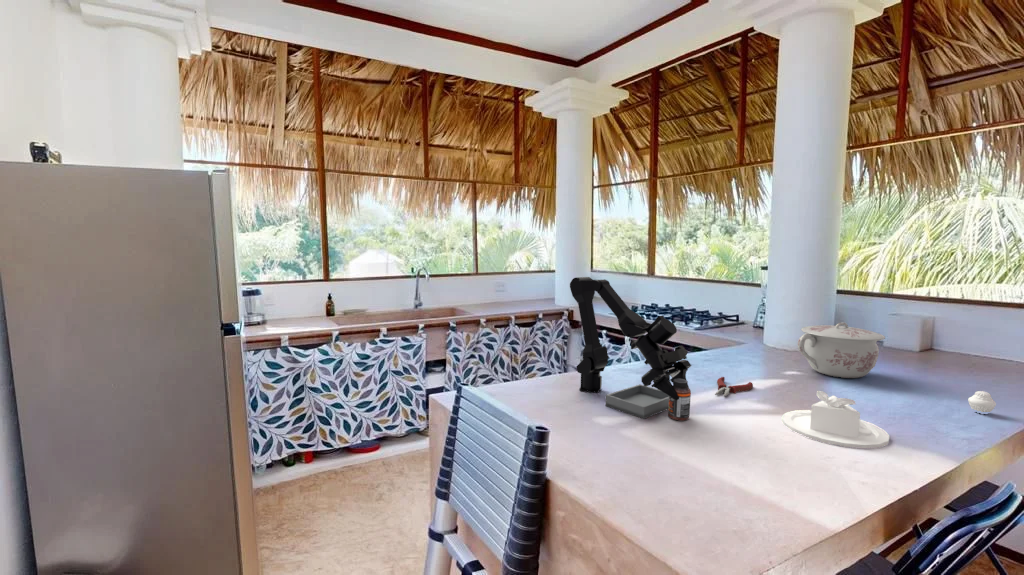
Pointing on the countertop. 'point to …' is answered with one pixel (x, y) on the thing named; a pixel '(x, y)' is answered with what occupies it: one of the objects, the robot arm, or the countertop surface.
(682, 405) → the supplement bottle
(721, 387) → the pliers
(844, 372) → the chamber pot
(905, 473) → the countertop surface
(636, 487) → the countertop surface
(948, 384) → the countertop surface
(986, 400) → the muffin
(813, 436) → the dish
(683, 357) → the robot arm
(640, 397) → the tray
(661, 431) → the countertop surface
